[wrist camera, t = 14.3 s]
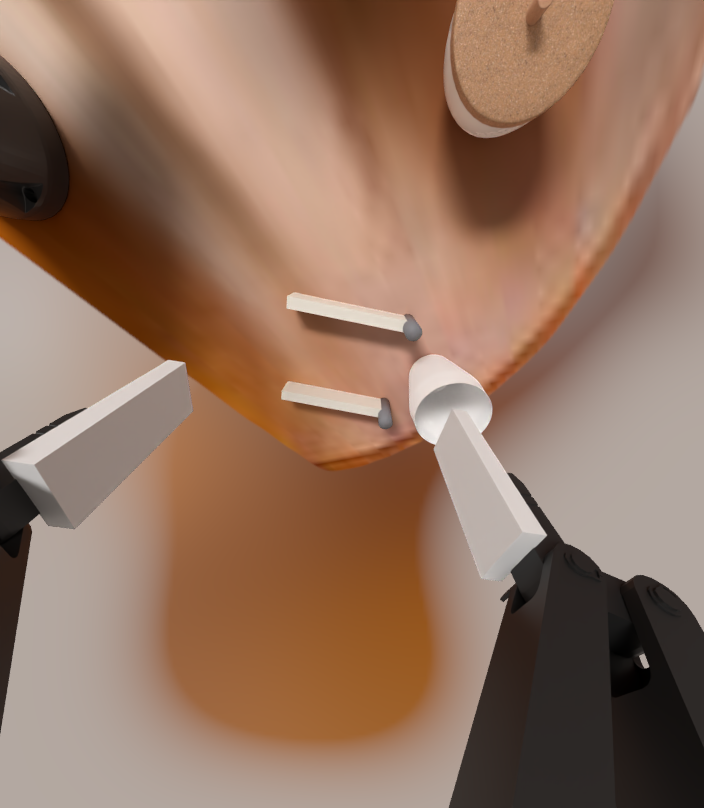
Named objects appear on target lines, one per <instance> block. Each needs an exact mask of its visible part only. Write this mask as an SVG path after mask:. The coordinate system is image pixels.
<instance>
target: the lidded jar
mask: <svg viewBox="0 0 704 808" xmlns="http://www.w3.org/2000/svg"><path fill="white" fill-rule="evenodd" d="M613 2H614V0H457V2H456V6H455V11H454V15H453V18H452V21H451V25H450V29H449V34H448V39H447V44H446V49H445V58H444V90H445V97H446V100H447V104H448V107H449V110H450V112H451V114H452V116H453V118H454V119H455V121H456V122H457V124H458V125H459V126H460V127H461V128H462V129H463V130H464V131H466V132H467V133H469V134H471V135H473V136H476V137H480V138H494V137H498V136H502V135H506V134H508V133H510V132H512V131H514V130H517V129H519V128H521V127H522V126H524V125H525V124H527V123H528V122H530V121H531V120H533V119H535V118H536V117H538V116H539V115H541V114H542V113H544V112H545V111H547V110H548V109H549V108H551V107H552V106H553V105H554V104H555V103H556V102H557V101H559V100H560V99H561V98H562V97H563V96H564V95H565V94H566V93H567V91H568V90H569V89H570V88H571V87H572V86H573V85H574V83H575V82H576V81H577V79H578V78H579V77H580V75H581V74H582V73H583V71H584V70H585V68H586V66H587V65H588V63H589V61H590V60H591V58H592V56H593V54H594V52H595V50H596V48H597V46H598V44H599V42H600V40H601V38H602V35H603V33H604V30H605V28H606V25H607V22H608V20H609V16H610V13H611V9H612V6H613Z"/></svg>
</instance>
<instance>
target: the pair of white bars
mask: <svg viewBox="0 0 704 808" xmlns="http://www.w3.org/2000/svg"><path fill="white" fill-rule="evenodd" d="M287 309H292V310H297V311H302V312H307V313H311V314H316V315H321V316H326V317H331V318H336V319H341V320H345V321H350V322H355V323H360V324H365V325H370V326H375V327H380V328H384V329H389V330H394V331H399V332H404V334H405V336H406V338H407V339H408V340H410V341H416V340H418V339H419V338H420V337H421V335H422V329H421V327H420V326H419V324H418V323H417V322H416V320H415V319H414V318H413V316H412V315H409V314H406V315H400V314H395V313H391V312H386V311H381V310H376V309H372V308H367V307H362V306H357V305H352V304H348V303H343V302H338V301H333V300H328V299H324V298H319V297H314V296H309V295H305V294H300V293H295V292H294V293H292V294H290V295H288V296H287ZM281 399H283V400H288V401H293V402H299V403H304V404H309V405H315V406H320V407H325V408H331V409H336V410H341V411H347V412H352V413H357V414H363V415H368V416H373V417H378V421H379V426H380V427H381V428H382V429H389V428H390V427H391V426H392V417H391V410H390V404H389V400H388V399H386V398H381V399H380V398H375V397H370V396H364V395H359V394H354V393H349V392H344V391H338V390H333V389H328V388H323V387H317V386H312V385H307V384H302V383H296V382H291V381H288V382H287V383H286V385H285V387H284V388H283V390H282V397H281Z"/></svg>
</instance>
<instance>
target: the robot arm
mask: <svg viewBox="0 0 704 808" xmlns="http://www.w3.org/2000/svg"><path fill="white" fill-rule="evenodd" d="M68 186H69V174H68V166H67V161H66V156H65V152H64V149H63V146H62V143H61V140H60V138H59V135H58V133H57V131H56V128H55V126H54V124H53V122H52V120H51V118H50V116H49V115H48V113H47V111H46V109H45V108H44V106H43V104H42V103H41V101H40V100H39V98H38V97H37V95H36V94H35V93H34V91H33V90H32V89H31V87H30V86H29V85H28V84H27V82H26V81H25V80H24V79H23V78H22V76H21V75H20V74H19V73H18V72H17V71H16V70H15V69H14V68H13V67H12V66H11V65H10V64H9V63H8V62H7V61H6V60H5V59H4V58H3V57H2V56H0V216H3V217H7V218H13V219H23V220H44V219H47V218H50V217H52V216H53V215H55V214H56V213H57V212H58V211H59V210H60V209H61V208H62V206H63V204H64V202H65V200H66V197H67V193H68ZM192 412H193V406H192V400H191V395H190V388H189V382H188V376H187V370H186V364H185V363H184V362H178V361H172V360H167V361H166V362H164V363H162V364H161V365H159V366H157V367H156V368H154V369H152V370H151V371H149V372H147V373H146V374H144V375H142V376H141V377H139V378H137V379H136V380H134V381H132V382H131V383H129V384H127V385H126V386H124V387H122V388H121V389H119V390H117V391H115V392H114V393H112V394H110V395H109V396H107V397H105V398H104V399H102V400H101V401H99V402H98V403H96V404H94V405H92V406H90V407H89V408H83V409H80V410H78V411H75V412H72V413H69V414H66V415H64V416H62V417H61V418H59V419H57V420H55V421H54V422H52V423H50V425H49V426H45V427H43V428H42V429H40V430H38V431H36V434H31V435H29V436H28V437H26V438H24V439H22V440H21V441H19V442H17V443H16V444H14V445H12V446H10V447H9V448H7V449H5V450H3V451H2V452H0V732H1V725H2V719H3V713H4V706H5V700H6V694H7V687H8V681H9V674H10V668H11V662H12V655H13V649H14V643H15V636H16V630H17V624H18V617H19V611H20V605H21V598H22V591H23V586H24V579H25V573H26V566H27V560H28V554H29V547H30V541H31V535H32V530H31V526H30V525H29V522H30V521H31V520H33V519H34V518H35V517H36V516H37V515H38V514H40V515H41V516H42V518H43V519H44V521H45V522H46V524H47V525H48V526H53V527H61V528H69V529H75V528H76V527H78V526H79V525H80V524H81V523H82V522H83V521H84V520H85V519H86V518H87V517H88V516H89V515H90V514H91V513H92V512H93V511H94V510H95V509H96V508H97V507H98V506H99V505H100V504H101V503H102V502H103V501H104V500H105V499H106V498H107V497H108V496H109V495H110V494H111V492H113V491H114V490H115V489H116V488H117V487H118V486H119V485H120V484H121V483H122V481H124V480H125V479H126V478H127V477H128V476H129V475H130V474H131V473H132V472H133V471H134V470H135V469H136V468H137V467H138V466H139V465H140V464H141V463H142V462H143V461H144V460H145V459H146V458H147V457H148V455H150V454H151V453H152V452H153V451H154V450H155V449H156V448H157V446H159V445H160V444H161V443H162V442H163V441H164V440H165V439H166V438H167V437H168V435H170V434H171V433H172V432H173V431H174V430H175V429H176V428H177V427H178V426H179V425H180V424H181V423H182V422H183V421H184V420H185V419H186V418H187V417H188V416H189V415H190V414H191V413H192ZM434 452H435V455H436V457H437V460H438V463H439V465H440V468H441V471H442V474H443V476H444V479H445V482H446V485H447V487H448V490H449V493H450V496H451V498H452V501H453V504H454V507H455V509H456V512H457V515H458V518H459V520H460V523H461V526H462V529H463V531H464V534H465V537H466V540H467V542H468V545H469V548H470V550H471V553H472V556H473V559H474V561H475V564H476V567H477V569H478V572H479V575H480V578H481V579H487V580H495V581H503V580H504V579H505V577H506V576H507V575H508V574H509V573H510V572H511V573H512V575H513V578H514V580H515V582H516V583H515V584H514V585H513V586H512V587H511V588H510V589H509V590H508V591H507V592H506V593H505V594H504V595H503V596H502V597H501V599H500V600H502V601H503V602H504V601H505V600H506V599H507V598H508V601H507V605H506V609H505V612H504V616H503V619H502V623H501V626H500V630H499V633H498V637H497V640H496V644H495V647H494V651H493V654H492V658H491V661H490V665H489V668H488V672H487V675H486V679H485V682H484V686H483V689H482V693H481V696H480V700H479V703H478V707H477V711H476V714H475V717H474V721H473V724H472V728H471V731H470V735H469V739H468V742H467V746H466V750H465V752H464V756H463V760H462V763H461V767H460V770H459V774H458V777H457V781H456V784H455V788H454V791H453V795H452V798H451V802H450V805H449V808H704V632H703V630H702V629H701V627H700V625H699V623H698V621H697V620H696V618H695V616H694V615H693V614H692V612H691V611H690V609H689V608H688V607H687V605H686V604H685V603H684V602H683V601H682V600H681V599H680V598H679V597H678V596H677V595H676V594H675V593H674V592H672V591H671V590H669V588H667V587H666V586H664V585H663V584H661V583H659V582H658V581H656V580H654V579H652V578H649V577H647V576H644V575H636V576H634V577H633V578H632V579H630V580H628V581H627V582H625V581H622V580H620V579H618V578H616V577H613V576H611V575H608V574H606V573H604V572H602V571H601V570H600V569H599V567H598V566H597V565H596V564H595V562H594V561H593V560H592V559H591V558H590V557H589V556H587V555H586V554H585V553H583V552H582V551H581V550H579V549H577V548H575V547H573V546H571V545H568V544H565V543H564V542H563V540H562V539H561V538H560V536H559V535H558V533H557V532H556V530H555V529H554V527H553V526H552V525H551V523H550V521H549V520H548V519H547V517H546V516H545V514H544V513H543V511H542V510H541V508H540V507H538V504H537V503H536V501H535V500H534V498H533V497H531V494H530V493H529V491H528V490H527V488H526V487H525V485H524V484H523V483H522V482H521V481H520V480H519V479H518V478H517V477H516V476H514V475H513V474H512V473H506V471H505V470H504V468H503V467H502V465H501V464H500V462H499V461H498V459H497V458H496V456H495V454H494V453H493V451H492V450H491V448H490V447H489V445H488V443H487V442H486V440H485V439H484V437H483V436H482V434H481V433H480V431H479V430H478V428H477V427H476V425H475V423H474V422H473V420H472V419H471V417H470V416H469V414H468V413H467V411H463V410H457V409H452V410H451V412H450V414H449V417H448V419H447V421H446V423H445V425H444V428H443V430H442V432H441V434H440V436H439V438H438V441H437V443H436V445H435V447H434ZM644 653H645V656H646V659H647V661H648V664H649V668H644V667H643V665H642V663H641V660H640V658H639V655H642V654H644Z"/></svg>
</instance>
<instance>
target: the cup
mask: <svg viewBox="0 0 704 808" xmlns="http://www.w3.org/2000/svg"><path fill="white" fill-rule="evenodd" d="M409 409H410V414H411V417H412V419H413V421H414V424H415V427H416V429H417V431H418V433H419V434H420V436H421V437H422V438H424V439H425V440H426V441H428V442H430V443H432V444H435V445H436V443H437V441H438V438H439V436H440V434H441V432H442V430H443V428H444V425H445V423H446V421H447V419H448V417H449V414H450V412H451V410H452V409H457V410H463V411H467V413H468V414H469V416H470V417H471V419H472V420H473V422H474V423H475V425H476V427H477V428H478V430H479V431H480V433H482V432H483V430H484V429H485V428H486V427H487V425H488V424H489V422H490V419H491V416H492V403H491V400H490V399H489V397H488V395H487V394H486V392H485V391H484V389H483V388H482V386H481V384H480V383H479V382H478V381H477V380H476V379H475V378H474V377H473V376H472V375H470V374H469V373H467V372H466V371H464V370H463V369H461V368H460V367H458V366H457V365H455V364H454V363H453V362H451V361H450V360H448V359H447V358H445V357H443V356H441V355H436V354H431V355H426V356H424V357H422V358H420V359H418V360H417V361H416V362H415V363H414V364H413V366H412V367H411V369H410V372H409Z"/></svg>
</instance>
